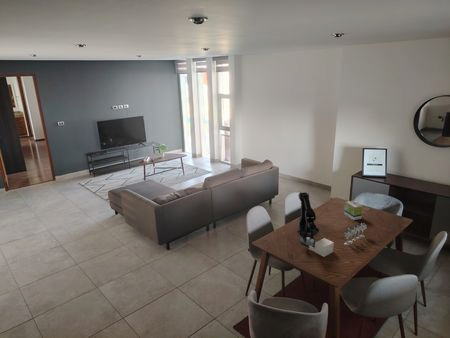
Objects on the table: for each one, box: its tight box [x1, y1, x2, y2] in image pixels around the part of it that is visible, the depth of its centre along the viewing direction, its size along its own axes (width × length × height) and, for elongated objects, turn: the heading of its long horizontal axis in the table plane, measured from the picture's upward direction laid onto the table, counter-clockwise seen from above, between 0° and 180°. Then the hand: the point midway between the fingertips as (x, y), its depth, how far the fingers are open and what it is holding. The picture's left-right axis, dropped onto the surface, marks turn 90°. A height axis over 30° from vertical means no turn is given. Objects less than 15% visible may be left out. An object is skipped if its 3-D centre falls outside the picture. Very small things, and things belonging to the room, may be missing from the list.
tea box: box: [343, 200, 363, 221], centre depth 317 cm, size 15×10×15 cm
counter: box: [308, 237, 335, 258], centre depth 259 cm, size 15×12×9 cm
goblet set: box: [343, 222, 368, 246], centre depth 274 cm, size 28×6×13 cm, turn 124°
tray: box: [299, 236, 317, 248], centre depth 271 cm, size 14×6×6 cm, turn 35°
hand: (308, 240), depth 270 cm, fingers open, 9 cm apart
